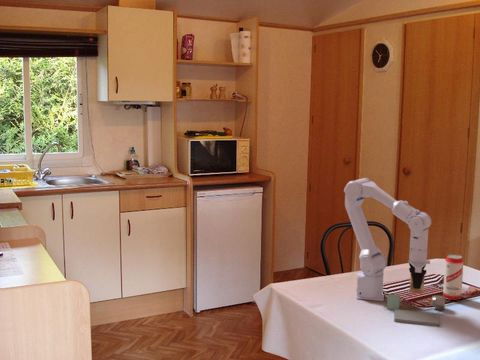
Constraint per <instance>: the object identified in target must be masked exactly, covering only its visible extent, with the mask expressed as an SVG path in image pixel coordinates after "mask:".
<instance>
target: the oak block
mask: <svg viewBox="0 0 480 360" xmlns="http://www.w3.org/2000/svg"><path fill="white" fill-rule="evenodd" d="M409 277H410V278H409V293H413V294H422V295H423V294H425V293H424V292H425V279H426V278H425V275H424V277H423V280H422V284H421V287H420V289H415V288H413V281H412V276H411V273H410V276H409Z"/></svg>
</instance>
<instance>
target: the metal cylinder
mask: <svg viewBox="0 0 480 360" xmlns="http://www.w3.org/2000/svg"><path fill="white" fill-rule="evenodd" d="M430 304H431V305H432V306H434V307H435V309H434V310H433V311H436V312H443V311H445V309H446V307H445V306H446V299H445V297H444V296H443V295H437V294H436V295H432V296H431V303H430Z"/></svg>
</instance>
